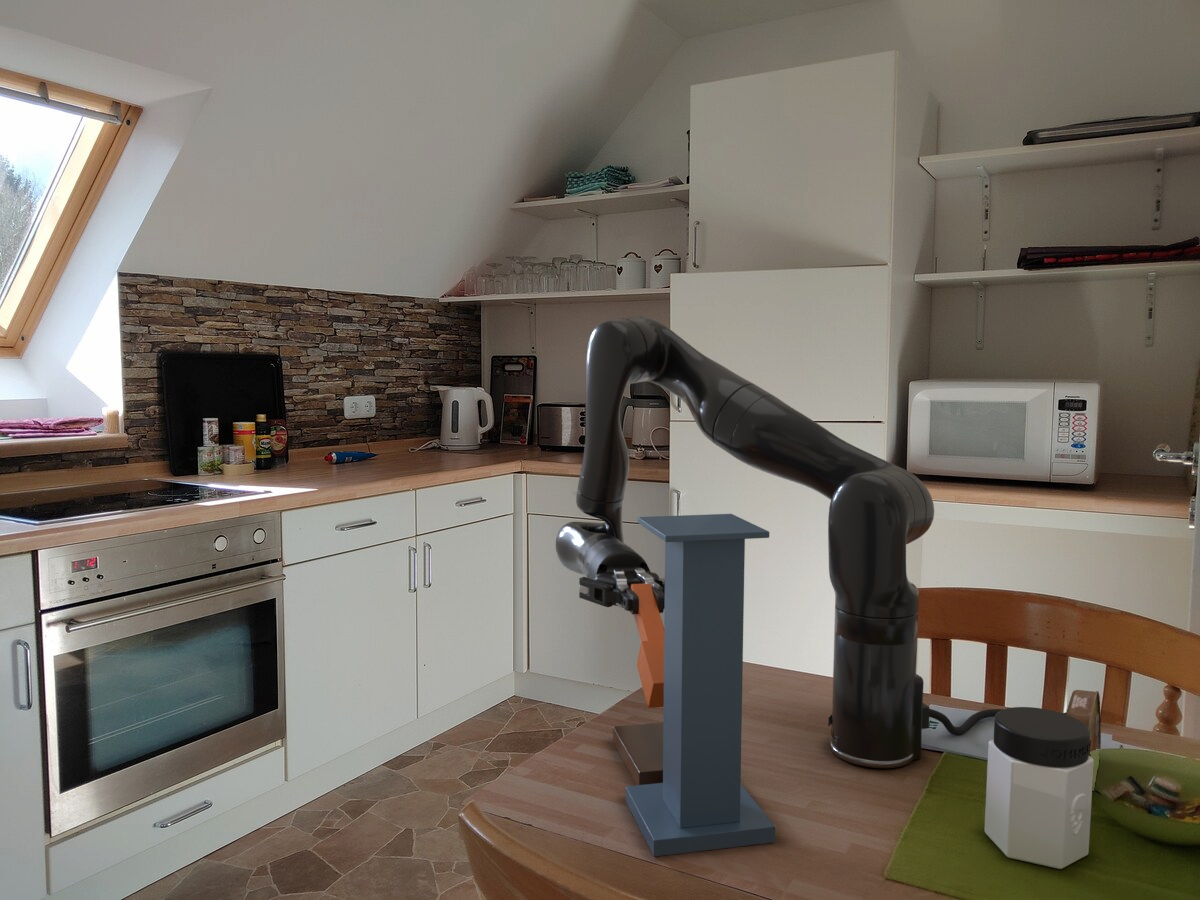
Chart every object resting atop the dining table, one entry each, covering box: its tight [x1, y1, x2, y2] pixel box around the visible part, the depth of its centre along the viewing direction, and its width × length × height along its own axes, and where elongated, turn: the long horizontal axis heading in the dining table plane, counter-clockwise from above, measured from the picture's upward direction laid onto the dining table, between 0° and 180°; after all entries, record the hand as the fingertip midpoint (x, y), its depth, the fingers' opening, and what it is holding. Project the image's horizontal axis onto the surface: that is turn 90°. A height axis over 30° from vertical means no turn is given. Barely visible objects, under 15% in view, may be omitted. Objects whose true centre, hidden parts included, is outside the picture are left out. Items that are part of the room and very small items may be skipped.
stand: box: [625, 513, 776, 857], centre depth 90 cm, size 12×11×30 cm
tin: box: [1065, 689, 1102, 756], centre depth 102 cm, size 15×3×8 cm, turn 148°
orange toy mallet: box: [631, 583, 664, 709], centre depth 105 cm, size 5×16×4 cm
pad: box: [612, 721, 664, 786], centre depth 105 cm, size 9×12×2 cm
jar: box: [983, 706, 1094, 870], centre depth 87 cm, size 9×8×12 cm
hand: (648, 605), depth 108 cm, fingers closed on orange toy mallet, 2 cm apart
